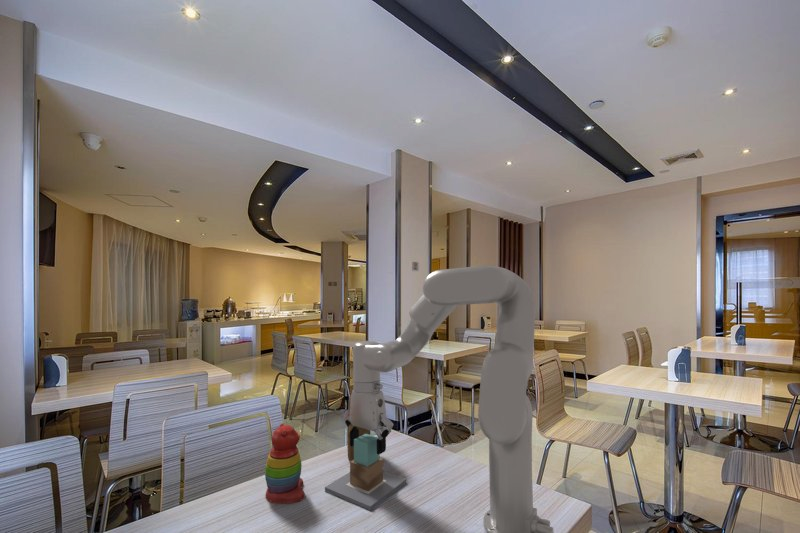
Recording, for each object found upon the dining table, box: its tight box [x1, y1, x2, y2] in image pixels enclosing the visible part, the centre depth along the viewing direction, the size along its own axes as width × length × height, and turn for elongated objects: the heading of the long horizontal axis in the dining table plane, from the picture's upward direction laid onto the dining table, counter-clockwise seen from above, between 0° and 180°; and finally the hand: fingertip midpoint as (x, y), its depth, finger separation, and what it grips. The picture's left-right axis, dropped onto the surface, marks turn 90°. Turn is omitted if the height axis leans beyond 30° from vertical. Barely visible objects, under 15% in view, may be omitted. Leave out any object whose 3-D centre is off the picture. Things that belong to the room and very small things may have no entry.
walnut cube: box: [349, 457, 384, 491], centre depth 103 cm, size 6×6×6 cm
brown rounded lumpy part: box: [346, 393, 371, 462], centre depth 122 cm, size 11×8×20 cm
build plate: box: [324, 470, 407, 511], centre depth 103 cm, size 16×16×1 cm
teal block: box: [354, 434, 380, 467], centre depth 104 cm, size 5×5×6 cm
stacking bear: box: [264, 422, 306, 504], centre depth 101 cm, size 11×10×18 cm
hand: (367, 448), depth 104 cm, fingers open, 9 cm apart
